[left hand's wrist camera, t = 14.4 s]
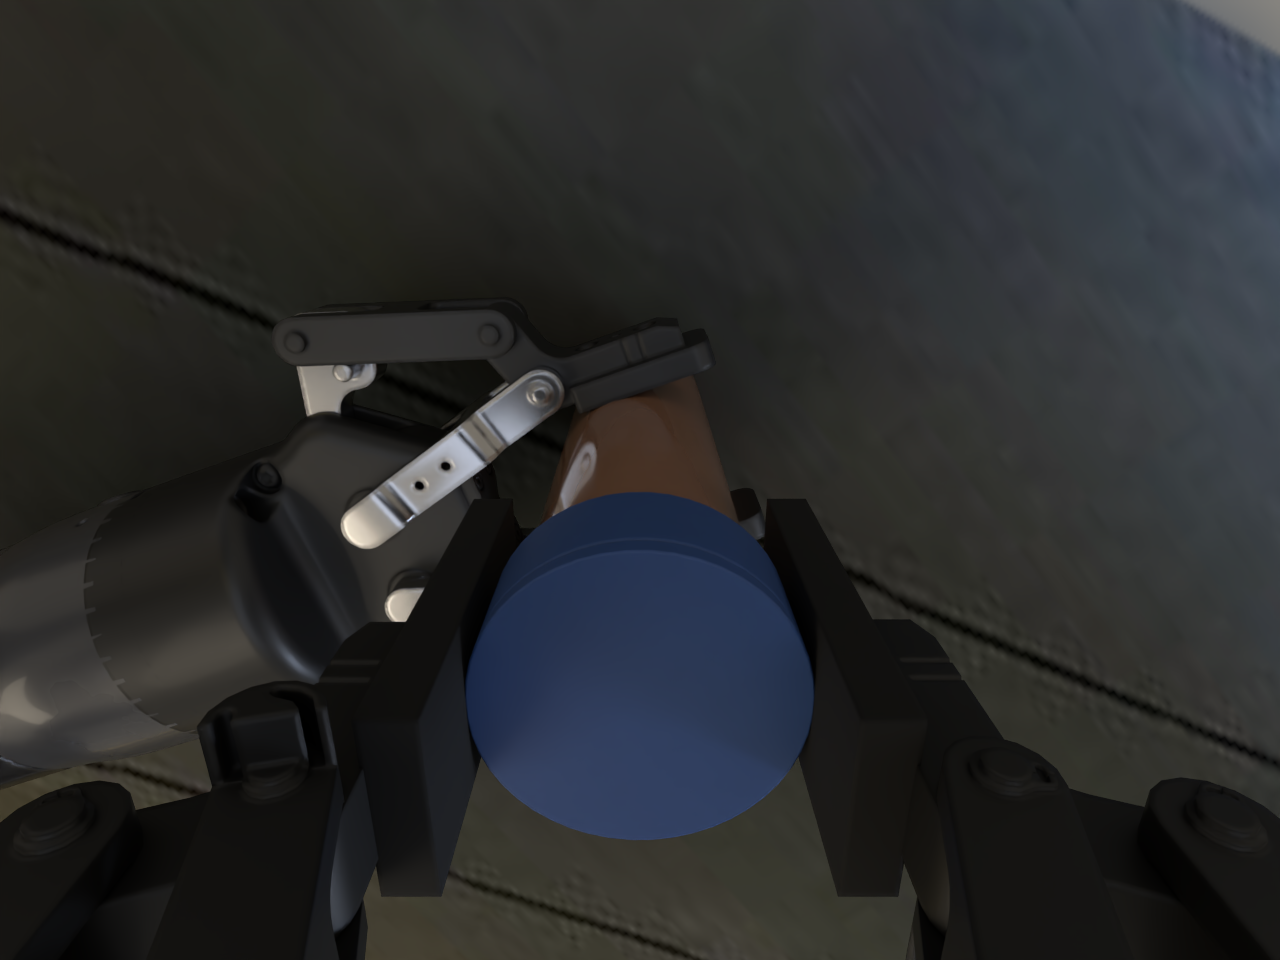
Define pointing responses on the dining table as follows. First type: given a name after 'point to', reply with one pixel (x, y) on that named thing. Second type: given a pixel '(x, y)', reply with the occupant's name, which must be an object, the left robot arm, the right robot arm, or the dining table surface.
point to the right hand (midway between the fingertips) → (732, 431)
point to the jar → (642, 451)
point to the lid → (639, 670)
